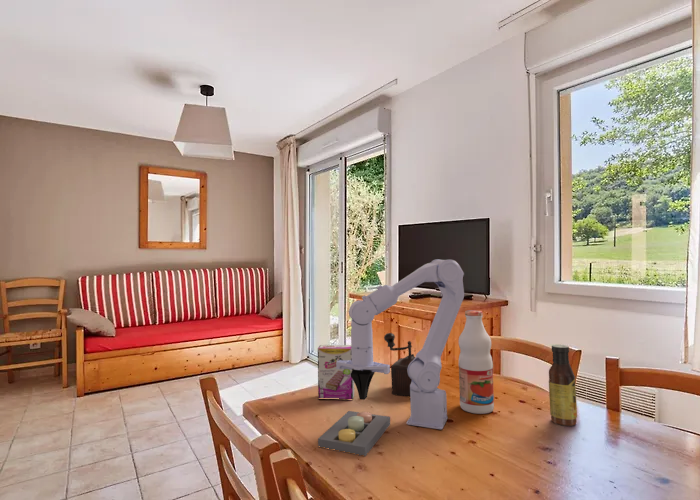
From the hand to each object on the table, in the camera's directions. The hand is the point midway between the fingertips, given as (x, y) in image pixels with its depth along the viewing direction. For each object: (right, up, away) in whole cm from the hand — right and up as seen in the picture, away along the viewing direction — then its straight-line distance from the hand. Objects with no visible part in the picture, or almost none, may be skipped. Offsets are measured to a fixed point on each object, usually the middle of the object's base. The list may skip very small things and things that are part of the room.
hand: (363, 398), depth 106 cm
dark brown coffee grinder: (+14, -8, +27) cm, 32 cm away
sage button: (-2, -6, -5) cm, 8 cm away
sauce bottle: (+52, -6, 0) cm, 53 cm away
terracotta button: (0, -7, 0) cm, 7 cm away
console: (-2, -7, -5) cm, 9 cm away
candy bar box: (-8, -8, +22) cm, 24 cm away
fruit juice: (+33, -7, +10) cm, 35 cm away
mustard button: (-4, -7, -10) cm, 13 cm away
